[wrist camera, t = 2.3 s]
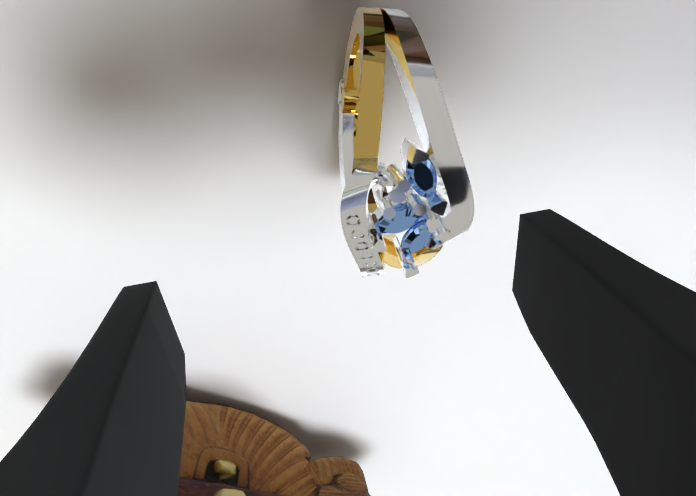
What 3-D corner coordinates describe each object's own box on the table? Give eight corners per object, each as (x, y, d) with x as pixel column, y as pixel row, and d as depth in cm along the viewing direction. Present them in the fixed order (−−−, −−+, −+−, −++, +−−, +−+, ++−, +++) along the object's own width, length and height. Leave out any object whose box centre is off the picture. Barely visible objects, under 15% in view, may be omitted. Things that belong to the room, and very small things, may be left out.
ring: (309, -29, 17) (365, 77, 11) (417, -21, 18) (529, 84, 11) (295, 183, 21) (330, 349, 15) (383, 183, 22) (452, 342, 16)
